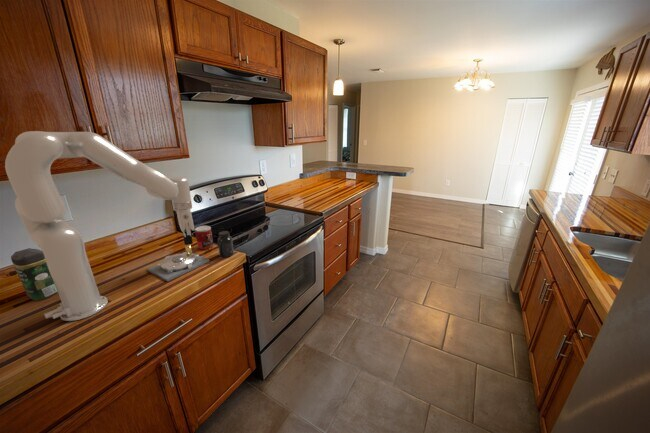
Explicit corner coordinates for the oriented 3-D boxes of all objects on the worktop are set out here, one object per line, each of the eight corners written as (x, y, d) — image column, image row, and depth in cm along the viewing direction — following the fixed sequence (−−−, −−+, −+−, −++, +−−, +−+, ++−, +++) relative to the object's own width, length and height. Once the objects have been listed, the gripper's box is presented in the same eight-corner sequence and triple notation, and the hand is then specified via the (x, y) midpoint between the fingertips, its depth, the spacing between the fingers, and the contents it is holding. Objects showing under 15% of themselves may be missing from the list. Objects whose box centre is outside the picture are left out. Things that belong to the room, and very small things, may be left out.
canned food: (204, 251, 136) (201, 231, 132) (194, 248, 139) (191, 229, 136) (216, 246, 142) (214, 227, 138) (207, 243, 146) (204, 224, 142)
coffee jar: (24, 296, 100) (4, 252, 94) (51, 286, 107) (35, 244, 101) (35, 303, 96) (15, 258, 90) (63, 292, 103) (46, 249, 97)
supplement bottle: (216, 256, 131) (213, 233, 127) (227, 250, 136) (224, 229, 133) (226, 259, 128) (223, 236, 124) (236, 253, 133) (234, 231, 130)
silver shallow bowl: (175, 275, 112) (172, 262, 109) (152, 267, 118) (149, 254, 116) (204, 260, 124) (202, 248, 122) (182, 253, 131) (179, 242, 129)
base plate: (167, 281, 109) (166, 278, 109) (146, 270, 118) (146, 267, 117) (209, 261, 125) (209, 258, 125) (189, 253, 134) (188, 250, 133)
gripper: (195, 208, 112) (200, 247, 118) (188, 201, 124) (194, 237, 129) (175, 210, 108) (182, 251, 113) (170, 203, 119) (177, 240, 125)
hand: (188, 243), depth 121 cm, fingers closed
